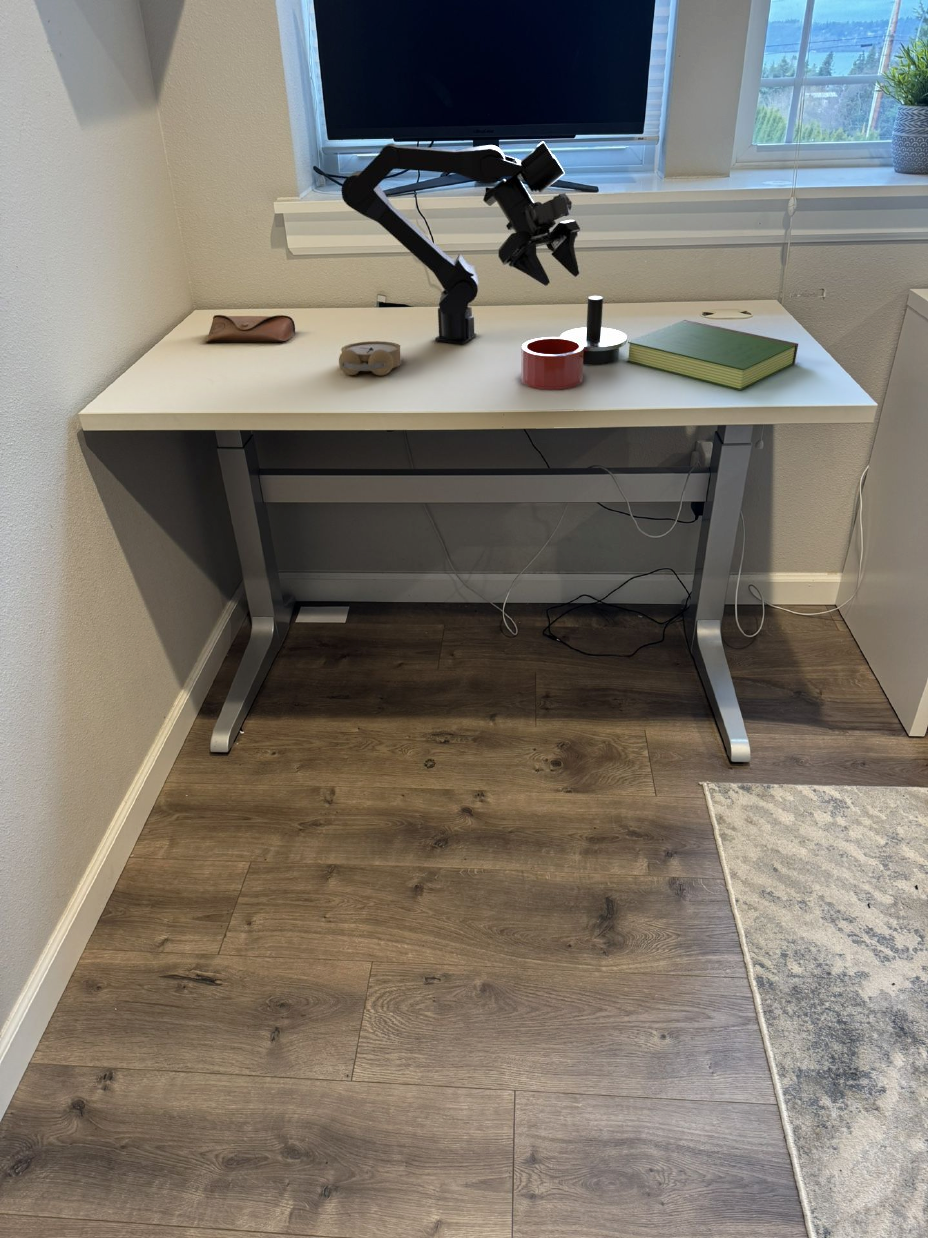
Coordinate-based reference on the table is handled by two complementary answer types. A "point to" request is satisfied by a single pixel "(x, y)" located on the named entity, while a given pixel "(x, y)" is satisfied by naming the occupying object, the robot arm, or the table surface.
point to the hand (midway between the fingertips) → (562, 279)
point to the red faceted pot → (552, 363)
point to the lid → (596, 330)
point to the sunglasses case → (251, 329)
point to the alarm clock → (370, 357)
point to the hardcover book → (712, 354)
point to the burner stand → (600, 357)
